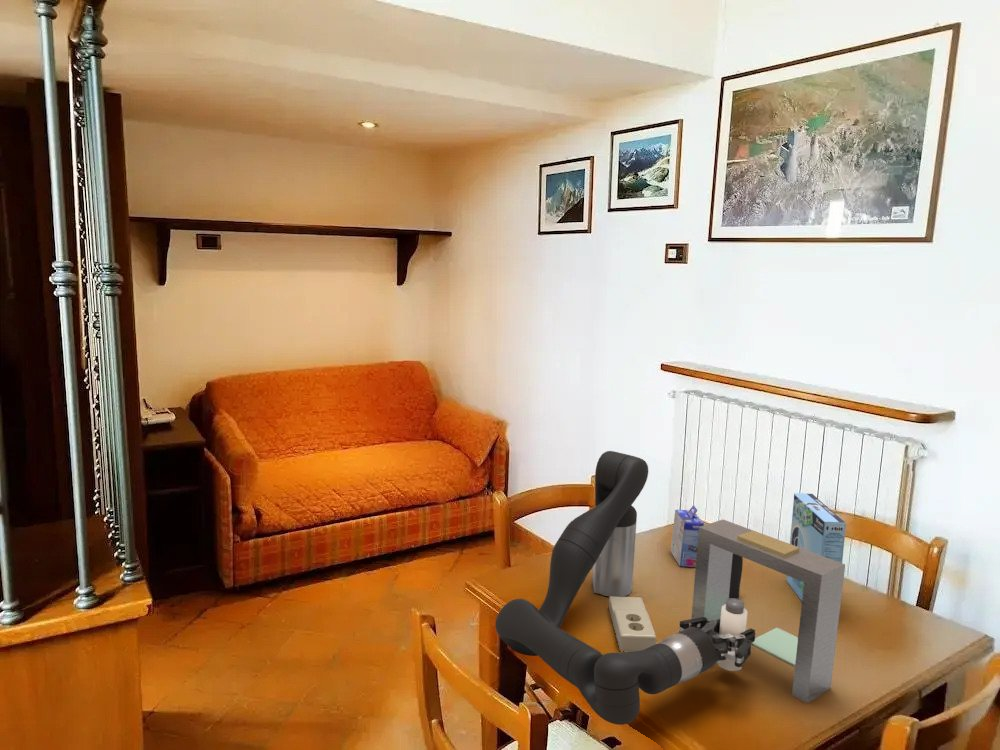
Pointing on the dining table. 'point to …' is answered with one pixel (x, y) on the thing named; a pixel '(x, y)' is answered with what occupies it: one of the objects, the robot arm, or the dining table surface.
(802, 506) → the gum box
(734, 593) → the black rounded block
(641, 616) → the electrical outlet
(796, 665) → the arch
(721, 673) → the dining table surface
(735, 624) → the bottle
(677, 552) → the ink cartridge box
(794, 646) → the mat
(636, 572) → the dining table surface
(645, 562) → the dining table surface
